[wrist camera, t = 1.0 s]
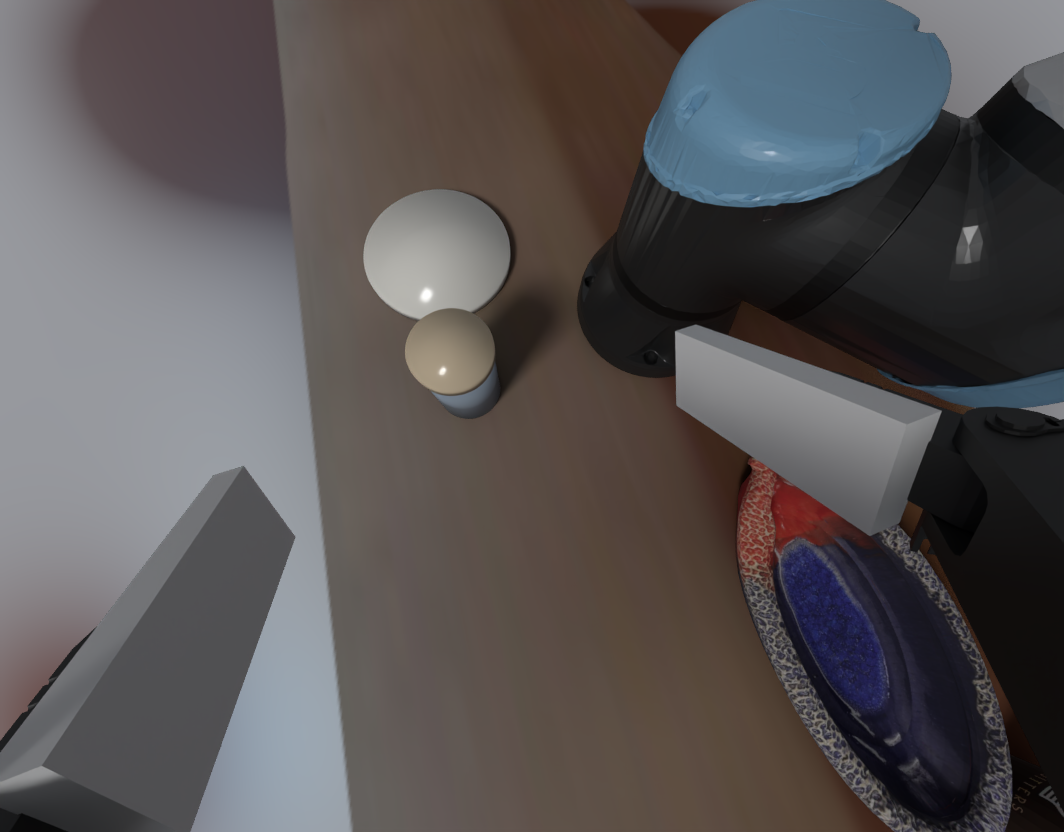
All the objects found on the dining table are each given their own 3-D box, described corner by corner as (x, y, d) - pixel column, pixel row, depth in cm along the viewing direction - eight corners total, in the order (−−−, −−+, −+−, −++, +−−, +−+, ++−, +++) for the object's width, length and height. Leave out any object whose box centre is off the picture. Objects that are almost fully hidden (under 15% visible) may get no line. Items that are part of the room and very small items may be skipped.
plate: (462, 174, 43) (460, 166, 42) (538, 275, 40) (538, 269, 39) (341, 239, 41) (337, 232, 40) (413, 349, 38) (410, 345, 37)
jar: (479, 346, 38) (464, 292, 29) (515, 397, 37) (511, 360, 28) (424, 379, 37) (388, 337, 28) (458, 433, 36) (434, 408, 27)
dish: (839, 856, 30) (900, 925, 25) (674, 480, 36) (697, 477, 31) (1004, 773, 31) (1092, 823, 26) (818, 425, 37) (862, 414, 33)
